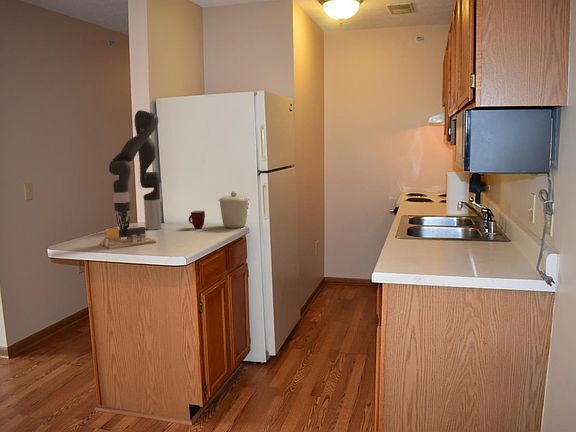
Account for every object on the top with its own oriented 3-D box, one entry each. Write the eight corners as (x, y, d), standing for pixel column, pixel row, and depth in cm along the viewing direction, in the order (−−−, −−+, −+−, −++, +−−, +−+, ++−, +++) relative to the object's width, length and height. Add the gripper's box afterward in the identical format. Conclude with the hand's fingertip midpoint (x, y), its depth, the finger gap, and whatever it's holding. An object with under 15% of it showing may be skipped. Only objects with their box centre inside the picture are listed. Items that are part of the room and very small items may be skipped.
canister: (245, 229, 289) (244, 193, 286) (215, 228, 293) (213, 192, 290) (253, 224, 307) (252, 190, 304) (225, 223, 310) (224, 189, 307)
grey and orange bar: (109, 239, 246) (109, 229, 245) (106, 237, 249) (106, 228, 249) (146, 234, 256) (145, 225, 256) (142, 233, 260) (142, 224, 259)
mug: (185, 229, 294) (184, 212, 292) (192, 226, 301) (191, 210, 300) (201, 229, 290) (200, 212, 289) (207, 227, 298) (207, 210, 296)
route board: (100, 243, 253) (99, 235, 253) (144, 238, 267) (143, 229, 266) (110, 249, 241) (109, 239, 240) (156, 242, 254) (155, 234, 254)
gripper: (109, 200, 253) (111, 234, 255) (118, 203, 242) (121, 238, 244) (124, 199, 257) (126, 232, 260) (134, 201, 246) (136, 236, 249)
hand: (123, 235), depth 252 cm, fingers closed on grey and orange bar, 3 cm apart
